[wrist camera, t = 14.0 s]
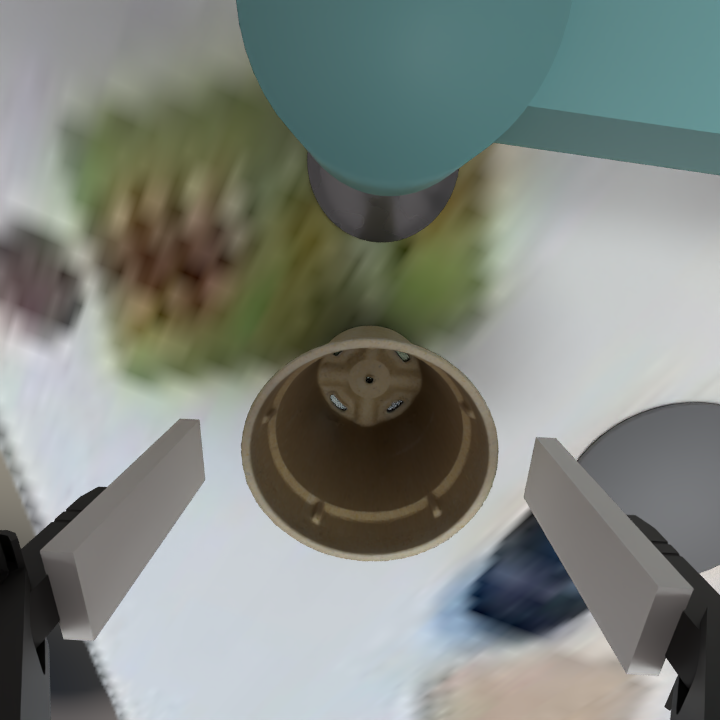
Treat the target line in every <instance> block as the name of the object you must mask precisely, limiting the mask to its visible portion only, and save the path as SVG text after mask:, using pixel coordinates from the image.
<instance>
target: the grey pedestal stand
mask: <svg viewBox="0 0 720 720" xmlns="http://www.w3.org/2000/svg"><path fill="white" fill-rule="evenodd" d="M307 163H308V174H309V179H310V183H311V187H312V190H313V193H314V195H315V197H316V200H317V202H318V203H319V205H320V207H321V208H322V210H323V211H324V213H325V214H326V215H327V216H328V218H329V219H330V220H331V221H332V222H333V223H334V224H335V225H337V226H338V227H339V228H340V229H342V230H343V231H345V232H346V233H348V234H350V235H352V236H354V237H357V238H359V239H362V240H366V241H371V242H392V241H398V240H401V239H404V238H407V237H409V236H412V235H414V234H416V233H417V232H419V231H421V230H422V229H424V228H425V227H426V226H427V225H429V224H430V223H431V222H432V221H433V220H434V219H435V218H436V217H437V216H438V215H439V214H440V212H441V211H442V210H443V208H444V207H445V205H446V204H447V202H448V200H449V198H450V196H451V194H452V192H453V189H454V187H455V183H456V180H457V177H458V171H459V169H457V170H456V171H454V172H453V173H452V174H450V175H449V176H447V177H446V178H445V179H443V180H442V181H440V182H438V183H437V184H435V185H433V186H431V187H429V188H427V189H424V190H421V191H418V192H416V193H411V194H406V195H400V196H379V195H373V194H368V193H364V192H361V191H358V190H356V189H353V188H351V187H349V186H347V185H345V184H343V183H341V182H340V181H338V180H337V179H336V178H334V177H333V176H332V175H330V174H329V173H328V172H327V171H326V170H325V169H324V168H323V167H322V166H320V165H319V163H318V162H317V161H316V160H315V159H314V158H313V156H312V155H311V154H310V153H309V152H308V156H307Z"/></svg>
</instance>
